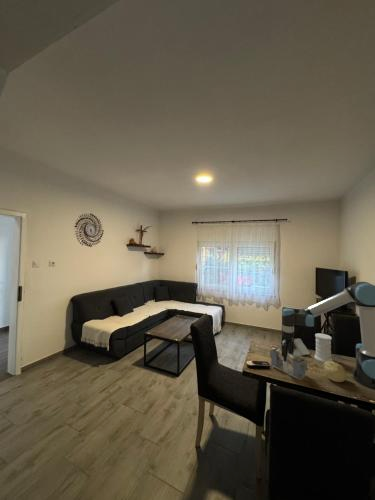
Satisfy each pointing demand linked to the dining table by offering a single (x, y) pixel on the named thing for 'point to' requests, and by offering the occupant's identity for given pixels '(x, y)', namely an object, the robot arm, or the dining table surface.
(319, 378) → the dining table surface
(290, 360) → the rail
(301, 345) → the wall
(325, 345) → the decorative container
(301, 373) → the bracket stand
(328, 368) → the pale yellow round lump
